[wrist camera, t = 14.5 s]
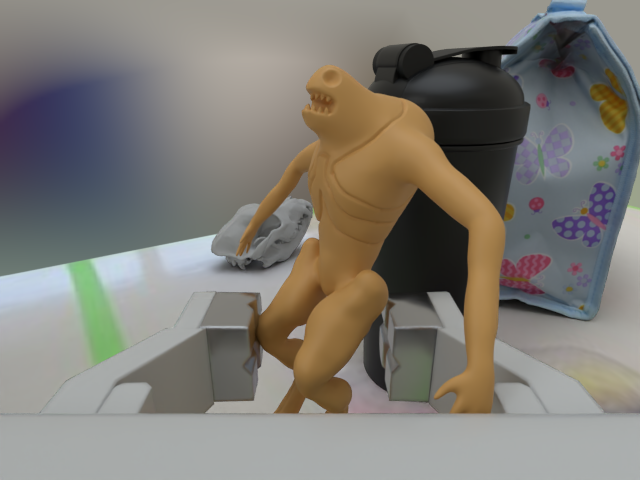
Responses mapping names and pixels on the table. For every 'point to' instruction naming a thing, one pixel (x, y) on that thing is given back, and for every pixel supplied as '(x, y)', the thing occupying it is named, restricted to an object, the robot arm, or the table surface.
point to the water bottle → (460, 150)
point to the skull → (265, 233)
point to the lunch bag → (569, 161)
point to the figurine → (371, 241)
